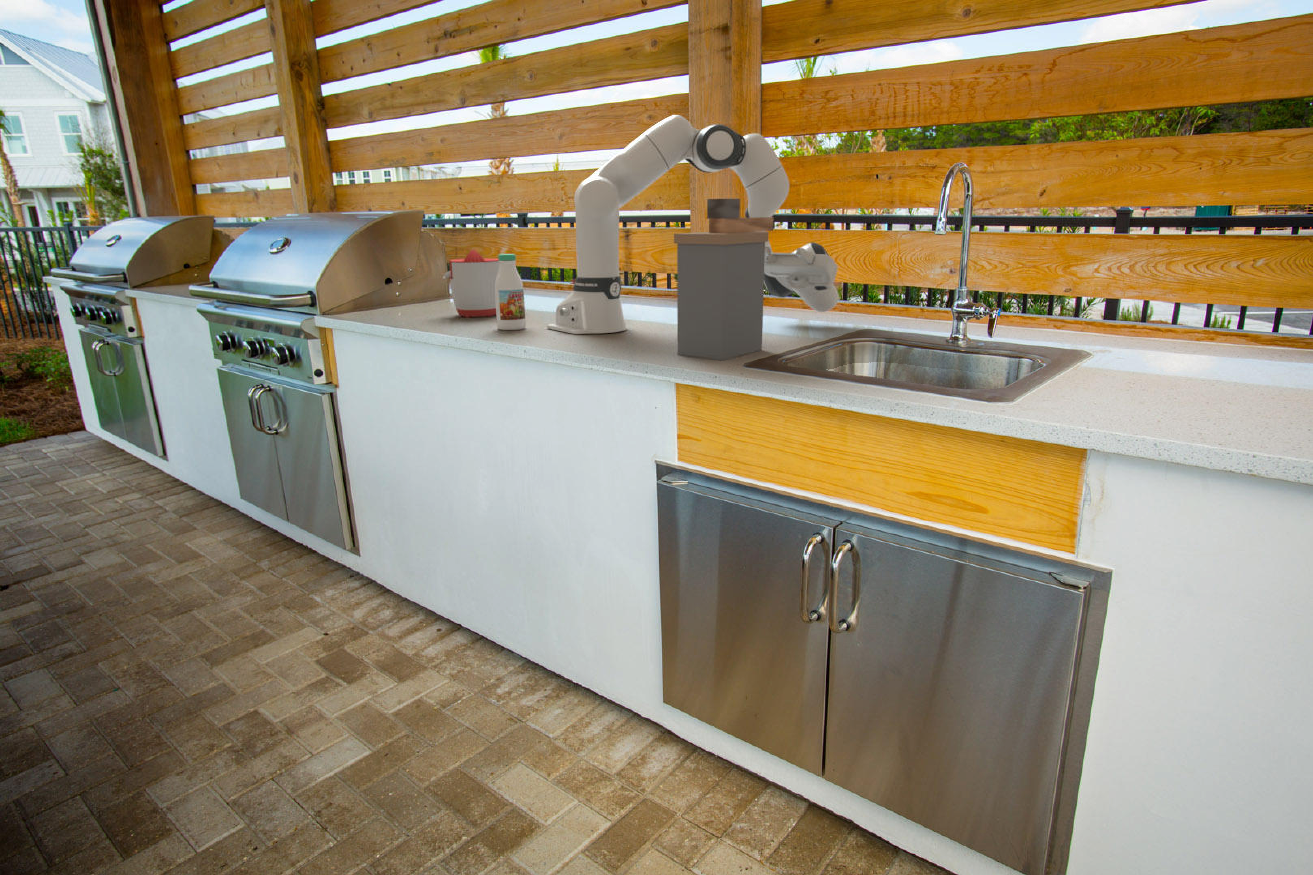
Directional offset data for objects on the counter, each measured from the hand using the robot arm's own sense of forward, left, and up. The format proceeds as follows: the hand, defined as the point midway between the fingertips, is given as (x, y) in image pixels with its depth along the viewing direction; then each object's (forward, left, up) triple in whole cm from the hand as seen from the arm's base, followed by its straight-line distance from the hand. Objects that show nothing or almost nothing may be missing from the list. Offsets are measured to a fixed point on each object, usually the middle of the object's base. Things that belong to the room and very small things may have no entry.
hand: (781, 250), depth 186 cm
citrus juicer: (-98, -18, -21) cm, 102 cm away
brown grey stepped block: (0, -18, +5) cm, 19 cm away
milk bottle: (-67, -30, -21) cm, 76 cm away
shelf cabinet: (0, -26, -21) cm, 34 cm away
